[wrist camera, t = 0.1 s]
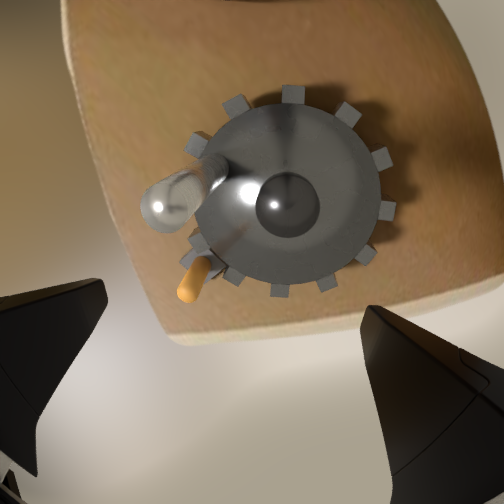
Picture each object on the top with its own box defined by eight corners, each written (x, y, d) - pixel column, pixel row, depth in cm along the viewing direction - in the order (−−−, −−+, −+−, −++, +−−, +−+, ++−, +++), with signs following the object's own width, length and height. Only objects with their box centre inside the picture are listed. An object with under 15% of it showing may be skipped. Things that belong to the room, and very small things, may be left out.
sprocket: (183, 89, 18) (96, 73, 8) (397, 104, 16) (489, 104, 7) (190, 275, 24) (143, 367, 15) (366, 288, 23) (401, 385, 14)
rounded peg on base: (203, 237, 24) (184, 268, 19) (228, 261, 25) (215, 296, 20) (181, 258, 25) (160, 290, 21) (205, 280, 26) (189, 316, 21)
